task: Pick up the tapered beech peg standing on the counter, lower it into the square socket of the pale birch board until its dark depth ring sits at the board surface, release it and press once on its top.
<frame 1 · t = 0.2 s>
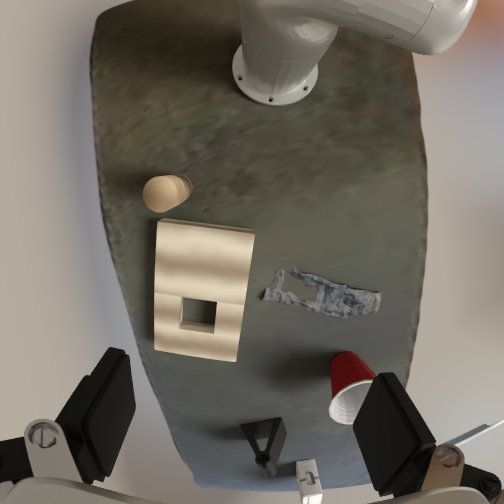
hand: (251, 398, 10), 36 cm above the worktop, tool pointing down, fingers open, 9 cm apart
ink box: (305, 466, 62), on the worktop
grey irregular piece: (326, 292, 49), on the worktop
plastic cup: (343, 363, 52), on the worktop
peg: (182, 187, 43), on the worktop
board: (201, 290, 47), on the worktop
phone stand: (264, 428, 57), on the worktop
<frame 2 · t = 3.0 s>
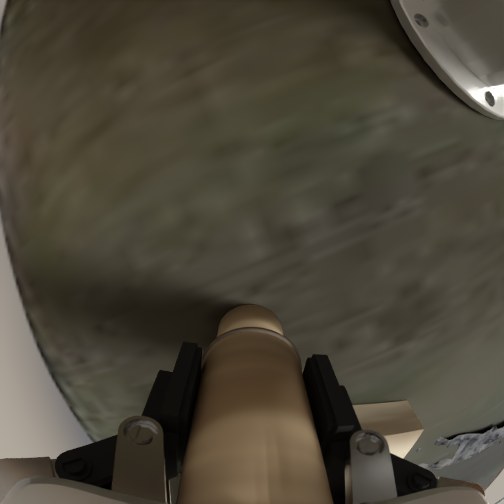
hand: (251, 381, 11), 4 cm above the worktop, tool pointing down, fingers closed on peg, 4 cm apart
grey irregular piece: (464, 439, 20), on the worktop
peg: (250, 332, 15), on the worktop, touching gripper
board: (279, 487, 19), on the worktop
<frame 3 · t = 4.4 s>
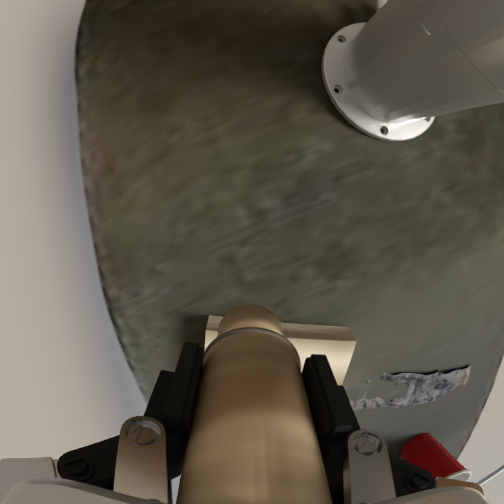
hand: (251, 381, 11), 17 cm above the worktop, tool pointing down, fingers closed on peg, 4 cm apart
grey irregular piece: (415, 383, 33), on the worktop
plastic cup: (414, 444, 36), on the worktop
peg: (250, 333, 15), point 13 cm above the worktop, touching gripper
board: (264, 403, 31), on the worktop
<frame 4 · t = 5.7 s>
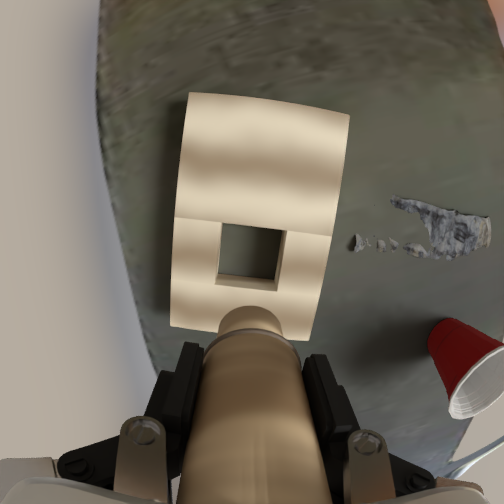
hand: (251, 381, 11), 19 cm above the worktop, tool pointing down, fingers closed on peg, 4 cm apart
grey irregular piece: (431, 227, 30), on the worktop
plastic cup: (441, 336, 33), on the worktop
peg: (250, 333, 15), point 16 cm above the worktop, touching gripper
board: (253, 219, 29), on the worktop
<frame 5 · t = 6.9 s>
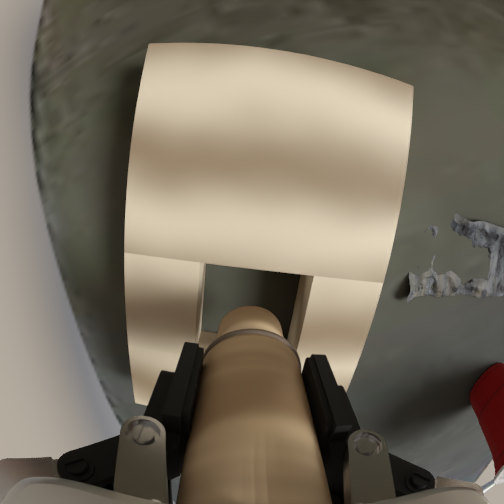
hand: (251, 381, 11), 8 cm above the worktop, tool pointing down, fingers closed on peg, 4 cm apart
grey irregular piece: (495, 255, 19), on the worktop
plastic cup: (485, 383, 23), on the worktop
peg: (249, 334, 15), point 4 cm above the worktop, touching gripper
board: (256, 251, 18), on the worktop
when the fingers open (4 cm above the worktop, at t = 7.9 s): peg stays where it is, resting in board.
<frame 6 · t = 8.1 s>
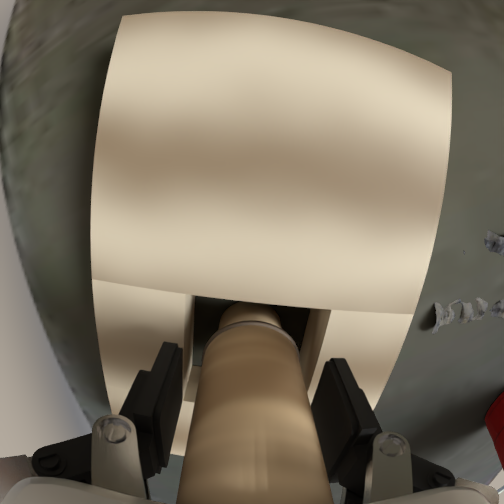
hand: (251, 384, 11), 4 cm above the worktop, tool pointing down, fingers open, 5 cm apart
plastic cup: (501, 403, 19), on the worktop
peg: (250, 328, 15), resting in board
board: (257, 274, 14), on the worktop
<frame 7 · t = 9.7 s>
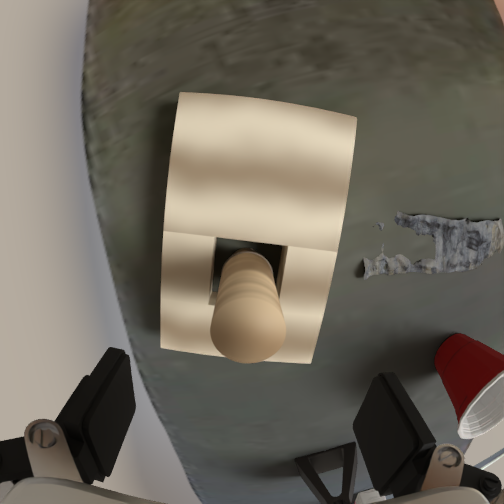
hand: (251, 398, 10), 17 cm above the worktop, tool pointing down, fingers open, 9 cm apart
ink box: (366, 496, 40), on the worktop
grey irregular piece: (442, 239, 28), on the worktop
plastic cup: (448, 352, 31), on the worktop
peg: (246, 265, 27), resting in board
board: (251, 232, 26), on the worktop
phone stand: (327, 459, 35), on the worktop
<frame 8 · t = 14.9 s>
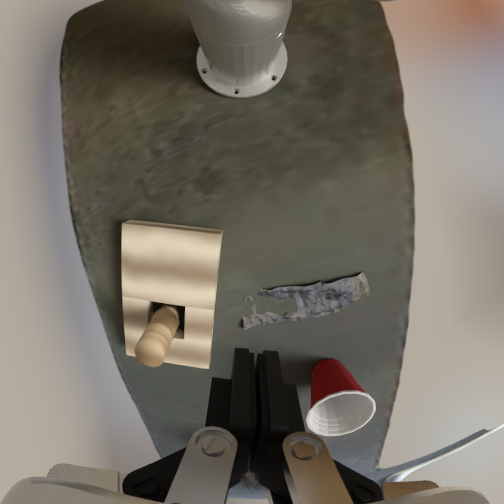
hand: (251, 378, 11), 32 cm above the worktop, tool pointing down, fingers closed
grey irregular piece: (305, 296, 46), on the worktop
plastic cup: (325, 370, 49), on the worktop
peg: (170, 311, 46), resting in board
board: (170, 294, 45), on the worktop
phone stand: (245, 436, 54), on the worktop
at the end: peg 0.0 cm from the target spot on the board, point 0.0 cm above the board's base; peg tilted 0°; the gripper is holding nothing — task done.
